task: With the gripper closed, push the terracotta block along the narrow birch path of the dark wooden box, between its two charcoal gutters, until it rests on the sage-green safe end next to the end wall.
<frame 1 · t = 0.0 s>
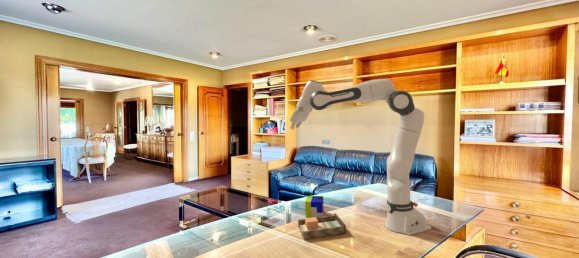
hand: (294, 128, 152), 54 cm above the table, tool tilted 30°, fingers open, 8 cm apart
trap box: (321, 230, 138), on the table
block: (311, 226, 137), point 2 cm above the table, touching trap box
puzzle toy: (315, 214, 159), on the table
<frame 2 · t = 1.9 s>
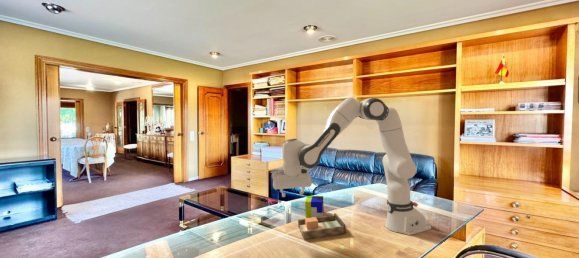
hand: (292, 195, 135), 20 cm above the table, tool pointing down, fingers open, 8 cm apart
nothing on the table moved.
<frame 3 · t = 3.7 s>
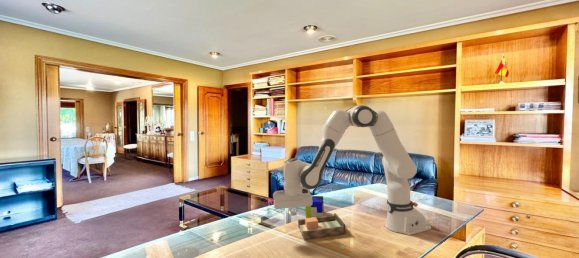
hand: (293, 215, 135), 10 cm above the table, tool pointing down, fingers closed
nothing on the table moved.
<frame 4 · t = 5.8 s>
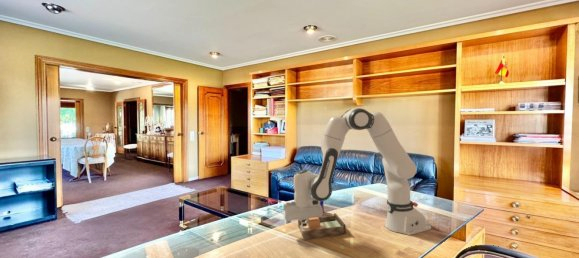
hand: (304, 226, 137), 3 cm above the table, tool pointing down, fingers closed
block: (313, 226, 137), point 2 cm above the table, touching gripper, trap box
everything else where it was.
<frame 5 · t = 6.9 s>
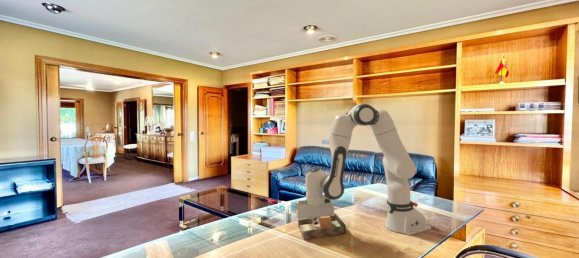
hand: (315, 224, 138), 4 cm above the table, tool pointing down, fingers closed
block: (325, 225, 138), point 3 cm above the table, touching gripper
everything else where it was.
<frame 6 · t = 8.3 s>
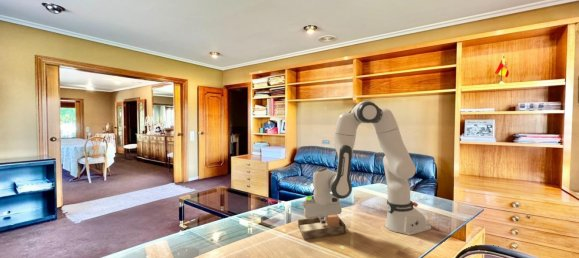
hand: (323, 223, 138), 4 cm above the table, tool pointing down, fingers closed
block: (332, 224, 139), point 2 cm above the table, touching gripper, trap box
everything else where it was.
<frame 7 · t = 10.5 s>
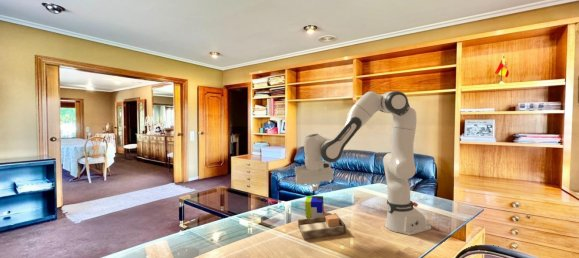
hand: (315, 190, 137), 22 cm above the table, tool pointing down, fingers closed
block: (332, 224, 139), point 2 cm above the table, touching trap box
everything else where it was.
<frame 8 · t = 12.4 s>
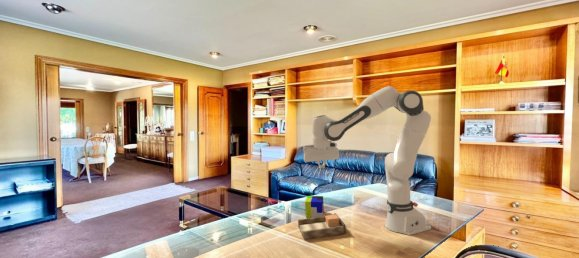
hand: (321, 168, 147), 31 cm above the table, tool pointing down, fingers closed
nothing on the table moved.
at the end: block 0.1 cm from the target spot on the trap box, point 2.5 cm above the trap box's base; block tilted 0° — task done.
